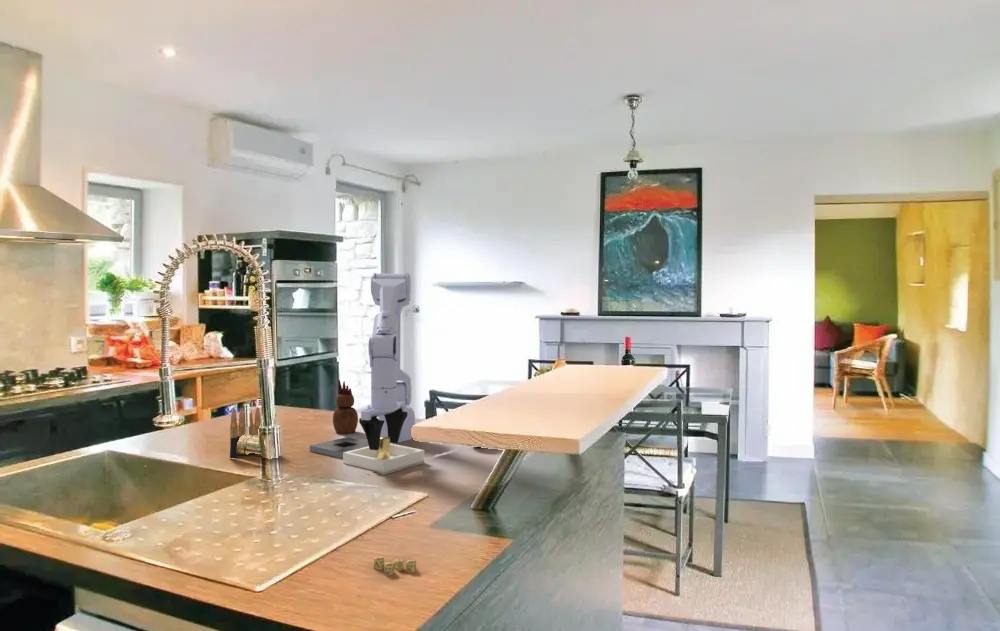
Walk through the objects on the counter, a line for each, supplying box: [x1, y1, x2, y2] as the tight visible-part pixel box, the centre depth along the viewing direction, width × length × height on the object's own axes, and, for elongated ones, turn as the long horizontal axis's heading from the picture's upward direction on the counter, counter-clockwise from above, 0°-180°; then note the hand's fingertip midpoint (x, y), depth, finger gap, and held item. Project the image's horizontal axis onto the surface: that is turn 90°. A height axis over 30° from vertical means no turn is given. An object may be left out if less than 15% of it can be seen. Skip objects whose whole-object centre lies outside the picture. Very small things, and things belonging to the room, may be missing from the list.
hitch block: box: [309, 436, 369, 460], centre depth 174 cm, size 12×12×2 cm
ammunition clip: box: [229, 406, 277, 459], centre depth 169 cm, size 11×2×12 cm, turn 107°
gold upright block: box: [377, 436, 390, 460], centre depth 163 cm, size 3×3×6 cm
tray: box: [342, 443, 425, 476], centre depth 163 cm, size 13×13×3 cm
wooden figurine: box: [332, 379, 359, 435], centre depth 194 cm, size 7×6×15 cm
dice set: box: [373, 556, 417, 576], centre depth 104 cm, size 5×5×2 cm
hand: (384, 446), depth 163 cm, fingers open, 7 cm apart
